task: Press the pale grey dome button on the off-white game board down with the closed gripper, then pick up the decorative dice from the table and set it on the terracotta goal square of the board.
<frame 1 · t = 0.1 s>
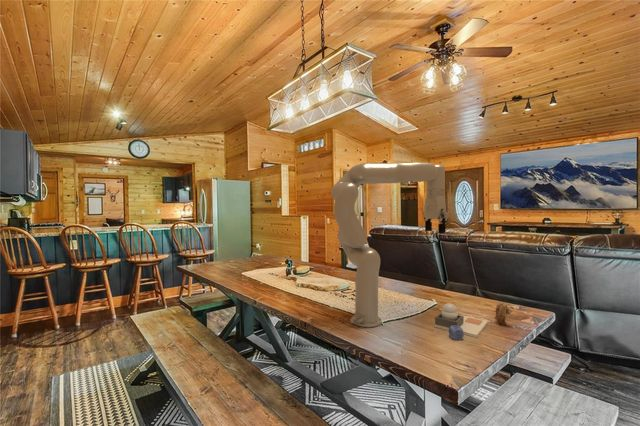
hand: (434, 231, 144), 37 cm above the table, tool pointing down, fingers open, 9 cm apart
decorative dice: (455, 338, 122), on the table
dome button: (449, 311, 132), point 6 cm above the table, slide at 0.0 cm
game board: (461, 325, 134), on the table
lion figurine: (501, 321, 138), on the table
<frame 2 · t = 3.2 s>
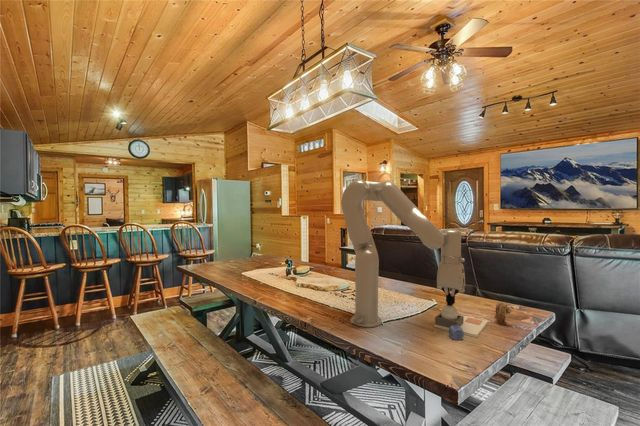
hand: (450, 304, 132), 9 cm above the table, tool pointing down, fingers closed
dome button: (449, 312, 132), point 6 cm above the table, slide at 0.5 cm, touching gripper
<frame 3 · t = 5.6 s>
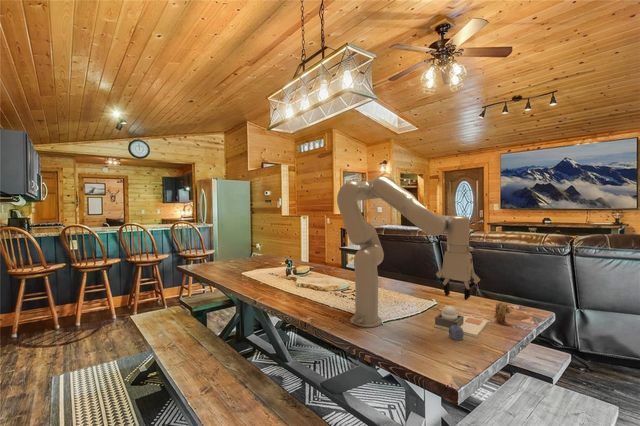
hand: (456, 296, 121), 16 cm above the table, tool pointing down, fingers open, 6 cm apart
dome button: (449, 313, 132), point 5 cm above the table, slide at 1.0 cm
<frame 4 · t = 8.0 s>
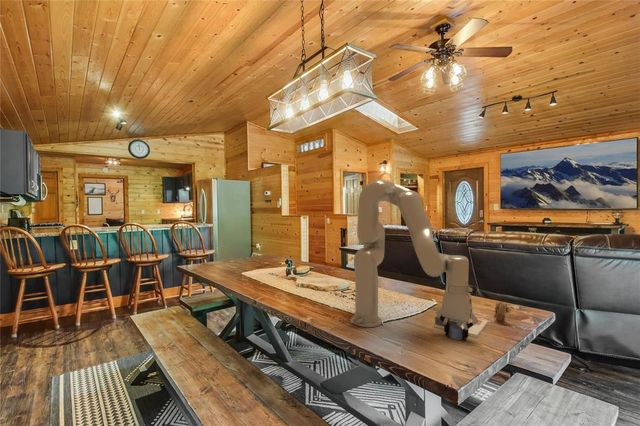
hand: (456, 336, 122), 1 cm above the table, tool pointing down, fingers closed on decorative dice, 5 cm apart
decorative dice: (455, 338, 122), on the table, touching gripper
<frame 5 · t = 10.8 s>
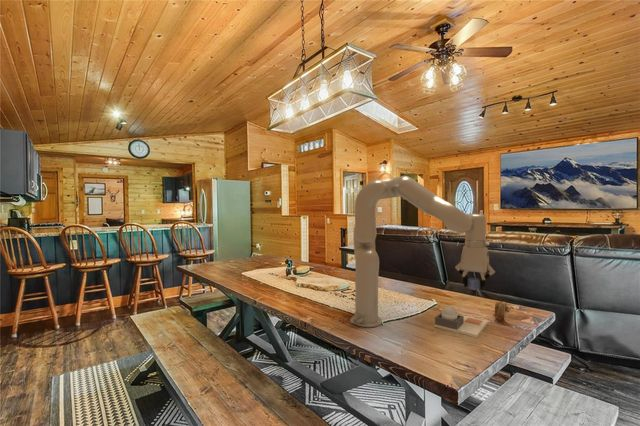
hand: (474, 287, 134), 16 cm above the table, tool pointing down, fingers closed on decorative dice, 5 cm apart
decorative dice: (473, 289, 134), point 15 cm above the table, touching gripper
when the fingers open (3 cm above the table, at t = 13.6 s): decorative dice drops 1 cm, resting on game board.
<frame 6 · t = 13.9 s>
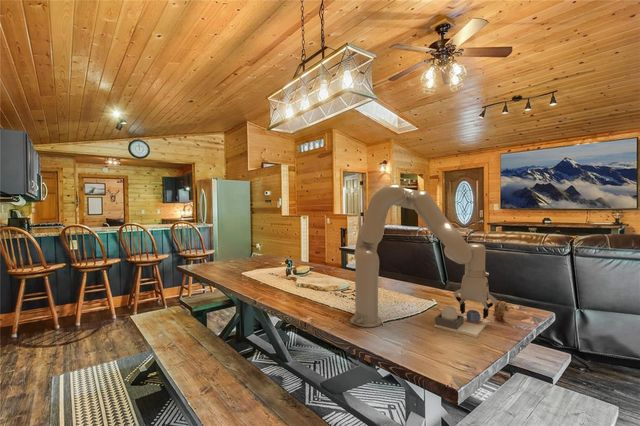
hand: (473, 315, 135), 4 cm above the table, tool pointing down, fingers open, 8 cm apart
decorative dice: (473, 321, 135), point 1 cm above the table, touching game board
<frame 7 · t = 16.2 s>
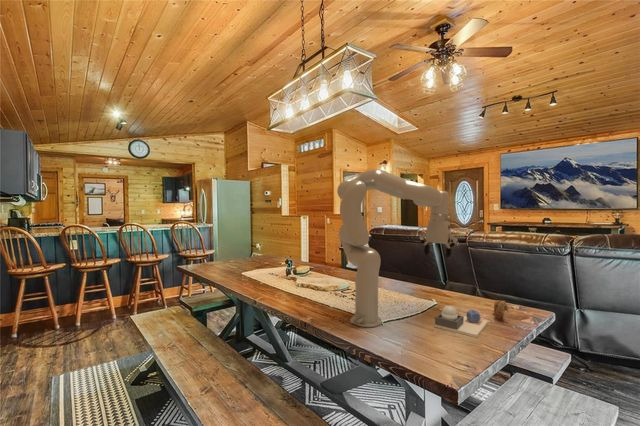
hand: (437, 255, 148), 26 cm above the table, tool pointing down, fingers open, 9 cm apart
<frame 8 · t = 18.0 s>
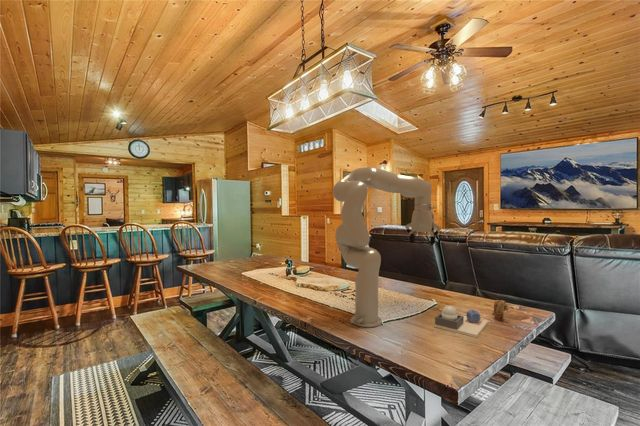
hand: (422, 243, 156), 30 cm above the table, tool pointing down, fingers open, 9 cm apart
at the end: dome button slide at 1.0 cm; decorative dice 0.2 cm from the target spot on the game board, point 1.0 cm above the game board's base; the gripper is holding nothing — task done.
